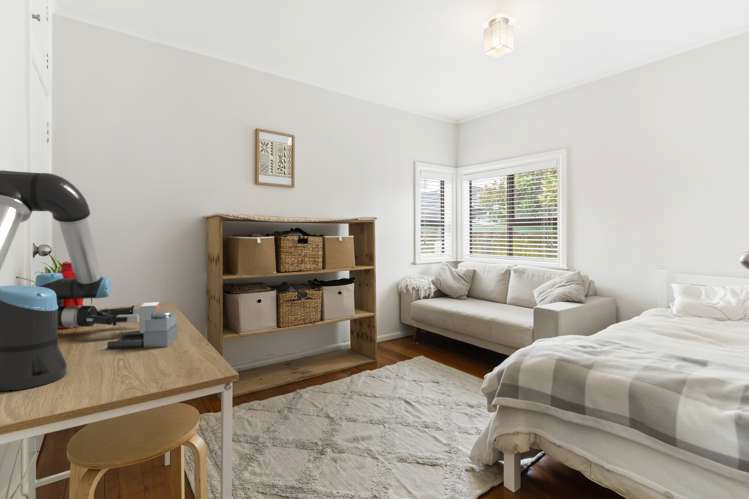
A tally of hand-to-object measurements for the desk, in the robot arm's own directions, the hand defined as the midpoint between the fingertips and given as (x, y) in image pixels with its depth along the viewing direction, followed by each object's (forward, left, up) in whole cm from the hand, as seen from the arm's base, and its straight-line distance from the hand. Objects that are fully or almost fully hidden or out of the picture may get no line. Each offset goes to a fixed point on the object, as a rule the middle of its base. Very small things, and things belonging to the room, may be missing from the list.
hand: (145, 314), depth 143 cm
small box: (-1, -2, -7) cm, 7 cm away
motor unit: (-17, -6, -6) cm, 19 cm away
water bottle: (+13, +32, -7) cm, 35 cm away
